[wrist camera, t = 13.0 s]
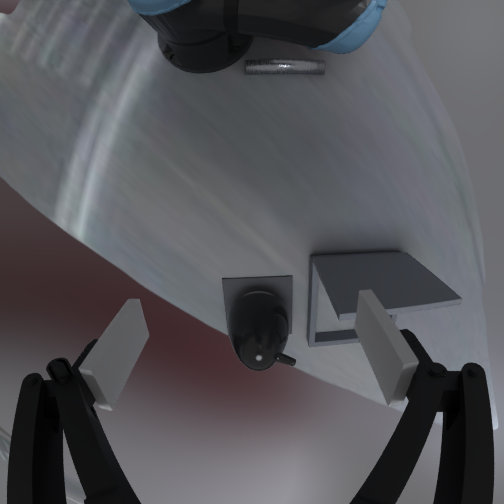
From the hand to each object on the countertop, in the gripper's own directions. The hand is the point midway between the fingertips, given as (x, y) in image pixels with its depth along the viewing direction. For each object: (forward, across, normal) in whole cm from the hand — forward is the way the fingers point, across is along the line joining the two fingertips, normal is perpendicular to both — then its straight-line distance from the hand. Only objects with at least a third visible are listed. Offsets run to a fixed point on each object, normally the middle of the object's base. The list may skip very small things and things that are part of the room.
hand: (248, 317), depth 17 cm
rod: (+30, +6, +21) cm, 38 cm away
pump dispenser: (+31, 0, -18) cm, 36 cm away
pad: (+31, 0, -18) cm, 36 cm away
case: (+31, +17, -17) cm, 40 cm away
